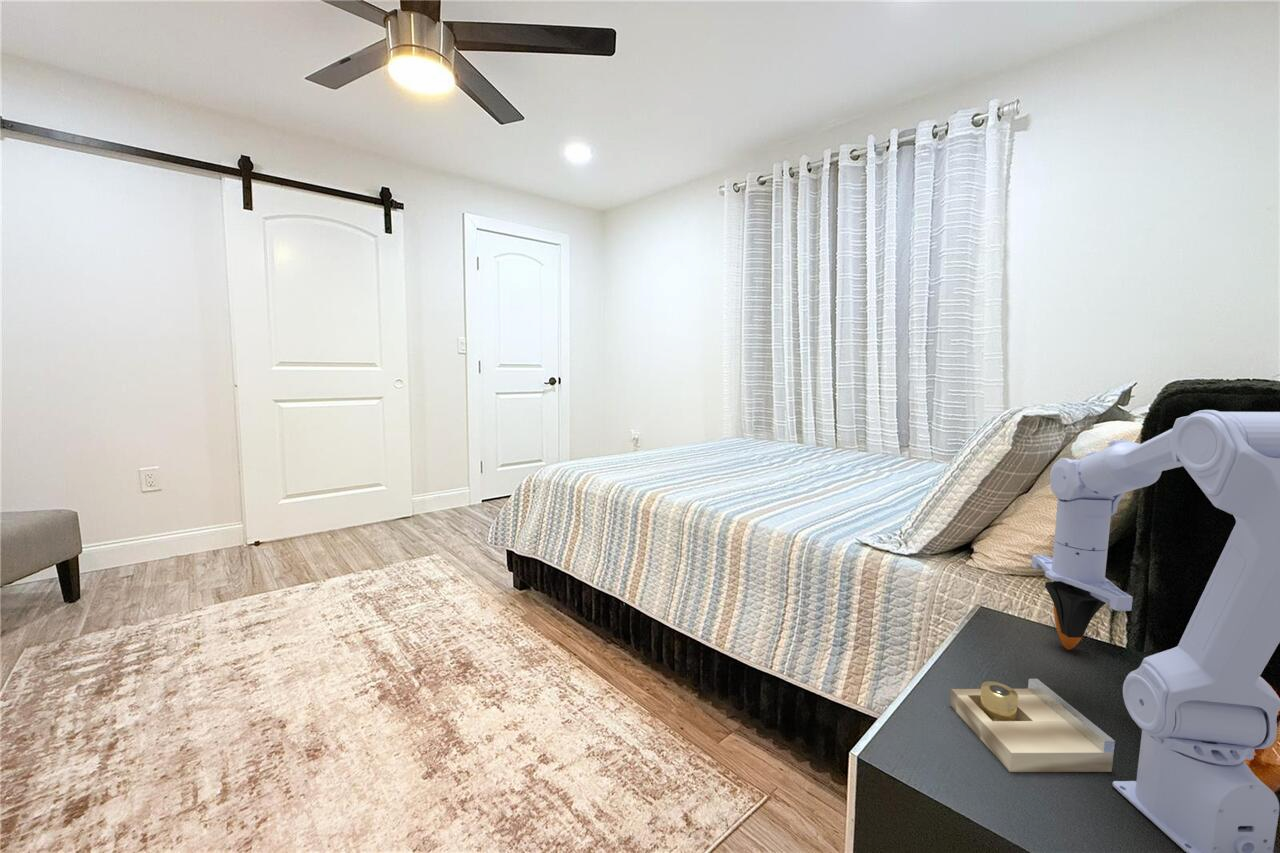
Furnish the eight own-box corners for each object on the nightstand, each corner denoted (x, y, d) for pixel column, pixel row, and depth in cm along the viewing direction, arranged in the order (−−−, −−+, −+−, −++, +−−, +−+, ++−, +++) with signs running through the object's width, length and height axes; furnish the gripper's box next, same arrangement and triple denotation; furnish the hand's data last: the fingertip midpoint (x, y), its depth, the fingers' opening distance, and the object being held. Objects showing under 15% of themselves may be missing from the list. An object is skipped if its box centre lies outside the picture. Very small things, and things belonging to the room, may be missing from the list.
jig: (1111, 771, 61) (1115, 740, 60) (1009, 772, 61) (1012, 741, 60) (1035, 704, 73) (1037, 678, 72) (950, 705, 73) (951, 679, 72)
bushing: (1022, 735, 67) (1025, 699, 66) (992, 736, 67) (995, 700, 66) (1000, 714, 71) (1002, 680, 70) (972, 715, 71) (974, 681, 70)
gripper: (1014, 527, 79) (1008, 610, 81) (1096, 564, 65) (1087, 664, 66) (1060, 527, 79) (1053, 610, 80) (1153, 563, 64) (1142, 664, 66)
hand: (1071, 635), depth 73 cm, fingers closed
